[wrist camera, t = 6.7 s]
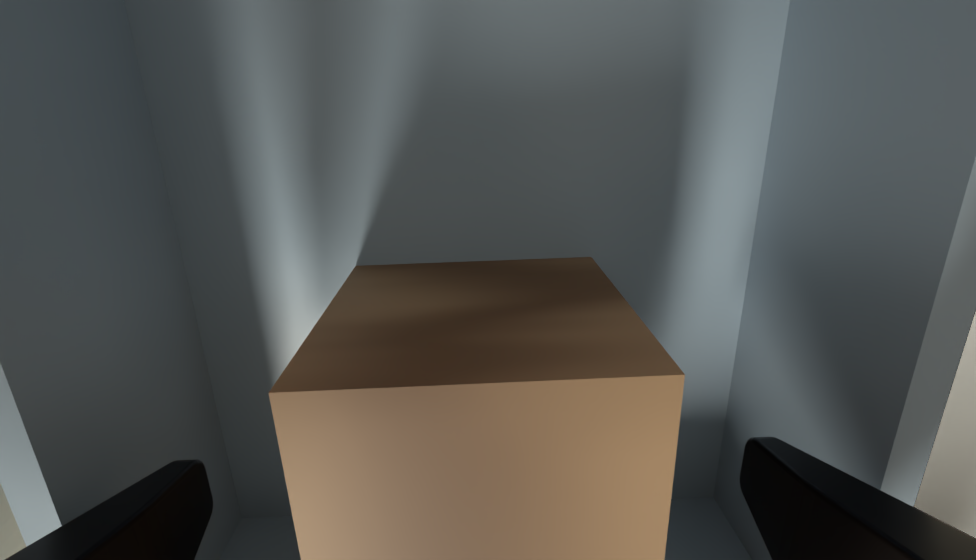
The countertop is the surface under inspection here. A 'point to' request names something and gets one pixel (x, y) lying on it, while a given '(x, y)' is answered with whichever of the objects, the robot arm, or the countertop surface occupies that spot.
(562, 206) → the box
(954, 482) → the countertop surface
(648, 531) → the cube
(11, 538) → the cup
